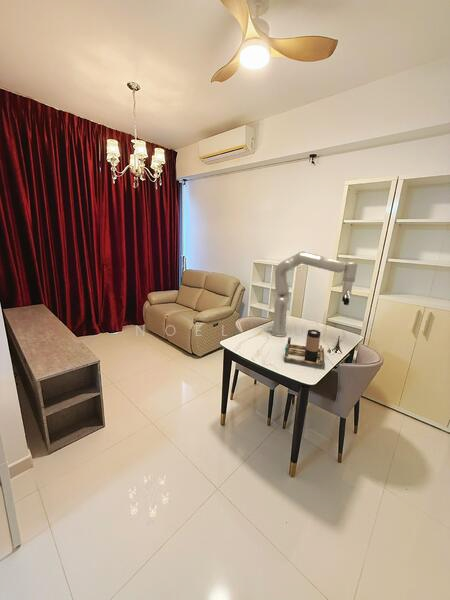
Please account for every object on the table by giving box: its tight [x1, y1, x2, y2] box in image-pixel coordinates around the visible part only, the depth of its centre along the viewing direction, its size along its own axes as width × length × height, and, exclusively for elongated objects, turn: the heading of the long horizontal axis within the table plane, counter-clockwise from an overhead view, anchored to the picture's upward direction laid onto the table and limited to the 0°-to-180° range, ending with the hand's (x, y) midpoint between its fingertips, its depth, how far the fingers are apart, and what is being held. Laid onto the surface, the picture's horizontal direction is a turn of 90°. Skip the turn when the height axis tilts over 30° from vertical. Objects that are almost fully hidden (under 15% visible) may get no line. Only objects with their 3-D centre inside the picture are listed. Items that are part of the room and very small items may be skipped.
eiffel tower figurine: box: [326, 335, 343, 354], centre depth 168 cm, size 15×10×13 cm
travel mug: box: [304, 329, 322, 363], centre depth 151 cm, size 8×8×20 cm
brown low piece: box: [283, 343, 323, 366], centre depth 154 cm, size 22×12×8 cm, turn 70°
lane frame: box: [283, 347, 326, 371], centre depth 160 cm, size 24×26×2 cm
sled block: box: [286, 337, 323, 355], centre depth 166 cm, size 22×9×8 cm, turn 70°
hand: (345, 303), depth 175 cm, fingers open, 9 cm apart
